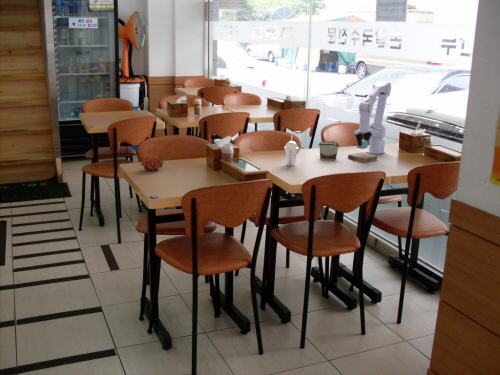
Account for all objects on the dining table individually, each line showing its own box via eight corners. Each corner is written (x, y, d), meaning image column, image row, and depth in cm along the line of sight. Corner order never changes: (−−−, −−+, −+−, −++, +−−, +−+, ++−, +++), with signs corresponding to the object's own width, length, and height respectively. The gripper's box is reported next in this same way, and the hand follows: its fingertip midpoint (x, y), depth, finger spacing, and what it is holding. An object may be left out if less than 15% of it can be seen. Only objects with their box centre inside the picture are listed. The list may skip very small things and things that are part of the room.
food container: (337, 157, 326) (339, 141, 324) (338, 159, 321) (339, 143, 318) (317, 156, 328) (318, 140, 325) (317, 159, 322) (318, 142, 319)
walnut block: (361, 156, 331) (361, 152, 331) (376, 160, 322) (377, 156, 321) (347, 159, 325) (348, 154, 324) (363, 163, 315) (363, 158, 315)
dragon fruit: (165, 172, 291) (143, 177, 288) (162, 160, 295) (140, 165, 293) (164, 162, 284) (142, 167, 281) (161, 150, 289) (138, 155, 286)
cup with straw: (289, 162, 312) (291, 128, 306) (301, 165, 306) (303, 130, 300) (280, 164, 306) (281, 130, 300) (292, 168, 300) (293, 132, 294)
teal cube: (361, 146, 325) (362, 139, 324) (367, 148, 322) (368, 140, 321) (356, 147, 323) (357, 140, 322) (362, 148, 319) (362, 141, 318)
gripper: (367, 120, 325) (365, 142, 329) (350, 122, 317) (349, 145, 321) (376, 122, 320) (374, 144, 323) (359, 124, 311) (357, 147, 315)
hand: (362, 145), depth 322 cm, fingers closed on teal cube, 4 cm apart
